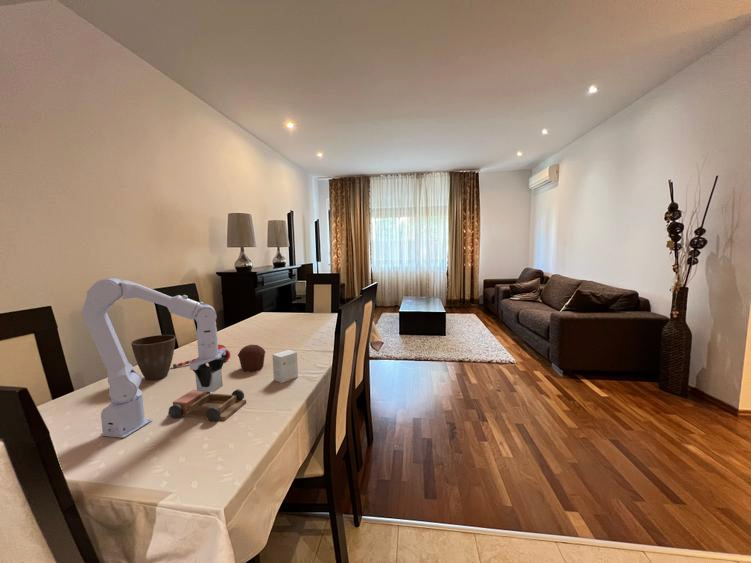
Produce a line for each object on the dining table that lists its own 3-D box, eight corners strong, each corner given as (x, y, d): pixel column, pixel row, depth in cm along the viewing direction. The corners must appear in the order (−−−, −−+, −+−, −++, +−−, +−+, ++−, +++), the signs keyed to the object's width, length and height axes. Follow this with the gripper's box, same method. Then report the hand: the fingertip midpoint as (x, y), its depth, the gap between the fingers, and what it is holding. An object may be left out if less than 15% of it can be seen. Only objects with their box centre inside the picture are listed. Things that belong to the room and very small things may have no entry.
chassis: (222, 422, 95) (222, 409, 95) (165, 417, 99) (163, 405, 99) (248, 401, 109) (247, 389, 108) (196, 397, 112) (195, 386, 112)
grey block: (213, 391, 101) (212, 373, 100) (197, 391, 102) (195, 373, 101) (222, 386, 105) (221, 368, 105) (206, 385, 106) (204, 368, 106)
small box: (290, 373, 133) (289, 349, 132) (298, 377, 129) (297, 351, 128) (273, 380, 127) (271, 354, 126) (281, 383, 123) (280, 357, 122)
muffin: (272, 365, 142) (270, 344, 141) (252, 374, 133) (250, 351, 132) (253, 361, 148) (252, 340, 147) (232, 370, 138) (231, 347, 137)
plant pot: (161, 368, 141) (158, 333, 139) (186, 372, 136) (183, 336, 134) (125, 382, 127) (121, 342, 125) (152, 386, 122) (148, 346, 120)
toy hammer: (174, 372, 137) (173, 358, 136) (171, 365, 146) (170, 351, 146) (231, 361, 150) (230, 348, 150) (225, 354, 160) (224, 342, 159)
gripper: (203, 350, 94) (206, 393, 96) (232, 336, 109) (235, 375, 110) (182, 349, 96) (185, 392, 97) (214, 336, 110) (216, 374, 111)
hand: (210, 383), depth 104 cm, fingers closed on grey block, 4 cm apart
